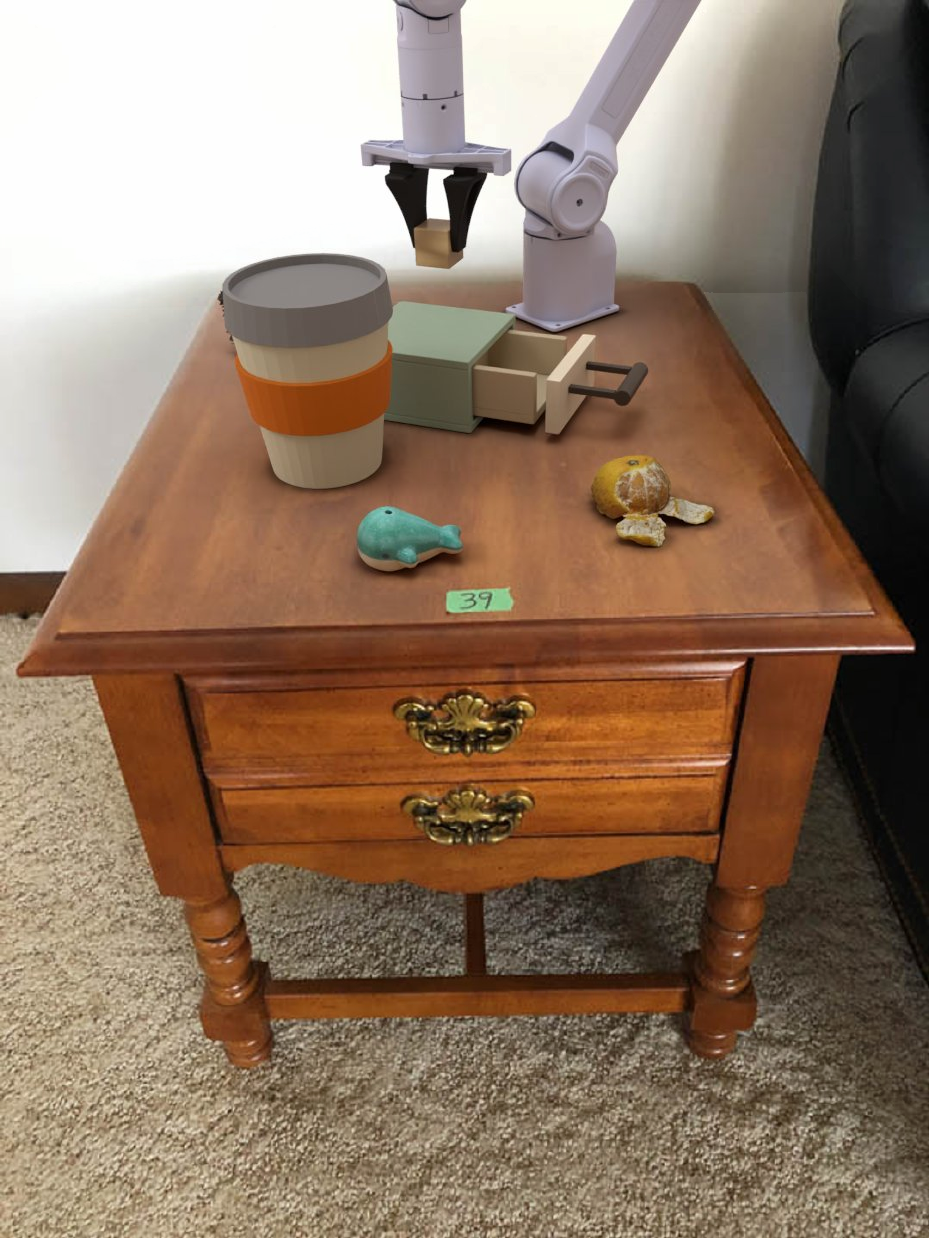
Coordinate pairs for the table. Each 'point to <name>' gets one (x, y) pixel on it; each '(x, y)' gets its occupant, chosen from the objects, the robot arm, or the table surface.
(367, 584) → the table surface
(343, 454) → the reusable coffee cup
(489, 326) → the cabinet
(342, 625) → the table surface
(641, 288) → the table surface
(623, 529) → the fruit
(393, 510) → the whale figurine
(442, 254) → the block
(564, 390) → the drawer
